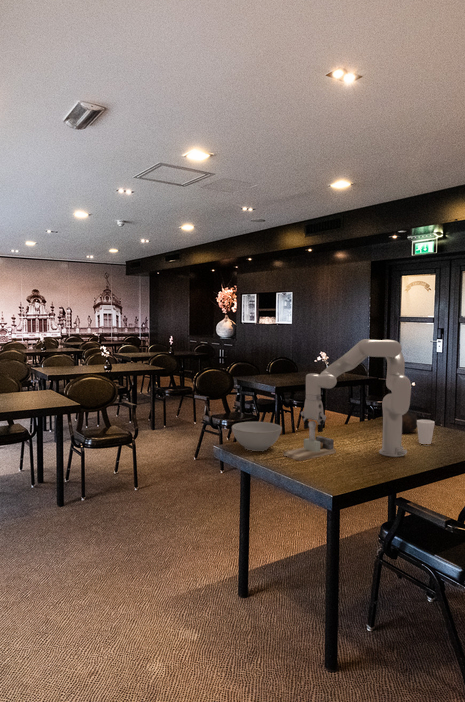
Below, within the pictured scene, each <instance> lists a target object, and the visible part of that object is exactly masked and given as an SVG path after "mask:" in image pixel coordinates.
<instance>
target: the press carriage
mask: <svg viewBox="0 0 465 702" xmlns="http://www.w3.org/2000/svg"><path fill="white" fill-rule="evenodd" d="M308 426H309V429H308V430H309V431H308V432H309V433H308V438H303V448H304V449H307V450H310V451H314V452H320V442H319V441H316V427H317V422H316V421H315V420H310V421H309V424H308Z"/></svg>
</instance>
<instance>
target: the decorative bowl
mask: <svg viewBox="0 0 465 702" xmlns="http://www.w3.org/2000/svg"><path fill="white" fill-rule="evenodd" d="M282 429H283V427H282V426H281V425H280V424H277V423H273V422H268V421H267V422H266V421H244V422H238V423H234V424H233V425H232V426H231V431H232V434H233V435H234V438H235V439H236V441H237V442H238V443H239V444H240V446H242V447H244V450H246V449H248V450H252V451H262V452H265V451H264V450H266V451H268V450H267V449H269V448H270V447H272V446H273V445H274V444H275V443H276V442H277V440H278V439H279V437H280V436H281V432H282ZM248 450H247V451H248ZM252 451H251V452H252Z"/></svg>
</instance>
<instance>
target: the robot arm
mask: <svg viewBox="0 0 465 702" xmlns="http://www.w3.org/2000/svg"><path fill="white" fill-rule="evenodd" d="M368 357H373V358H374V357H375V358H385V359H386V363H387V364H386V365H387V366H386V369H387V370H386V379H385V385H386V387H387V390H389V391H391V392H390V393H387V394H386V395H385V396H384V397H383V399H382V403H381V406H382V407H381V408H382V438H381V439H382V443H381V448H380V449H379V450H378V453H379V454H380V455H381V456H385V457H391V458H392V457H394V458H399V457H404V456H405V455H407V454H408V449H404V446H403V445H402V436H403V433H402V415H404V414H405V413H406V412H407V411H408V410H410V409H409V408H410V404H411V394H412V384H411V380H410V379H409V377H408V376H407V375H405V365H406V362H405V357H404V355H403V352H402V344H400V342H399V341H397V340H394V339H382V340H381V339H368V338H363V339H361V340H359V341H358V342H357V343H356V344H355V345H353V347H352V348H350V349H349V351H348V350H347V352H346V353H344V354H343V355H342V356H341V357H339V358H338V359H336V360H335V361H334V362H332V363H331V364H329V365H328V366H327V367H326V368H325V369H324V370H323V371H321V372H320V374H319V373H307V374H306V375H305V400H304V408H303V410H302V411H300V415H301V419H302V421H303V429H304V430H309V426H308V424H309V422H310V421H316V423H317V433H323V430H324V428H323V427H324V424H325V423H326V420H327V416H326V415H325V413H324V406H323V402H322V396H321V393H322V392H321V388H322V389H333V388H335V386H336V385H337V382H338V381H337V378H338V377H339V376H341V375H343V374H344V373H346V372H349V371H352V370H353V369H356V367H358V365H360V364H361V363H362V362H363V361H364V360H366V359H367V358H368ZM309 420H310V421H309Z"/></svg>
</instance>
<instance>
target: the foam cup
mask: <svg viewBox="0 0 465 702" xmlns="http://www.w3.org/2000/svg"><path fill="white" fill-rule="evenodd" d="M435 422H436V421H434V420H431V419H418V420H417V428H416V429H417V437H418V444H419V443H421V444H432V439H433V434H434V428H435ZM421 444H420V445H421Z"/></svg>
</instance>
